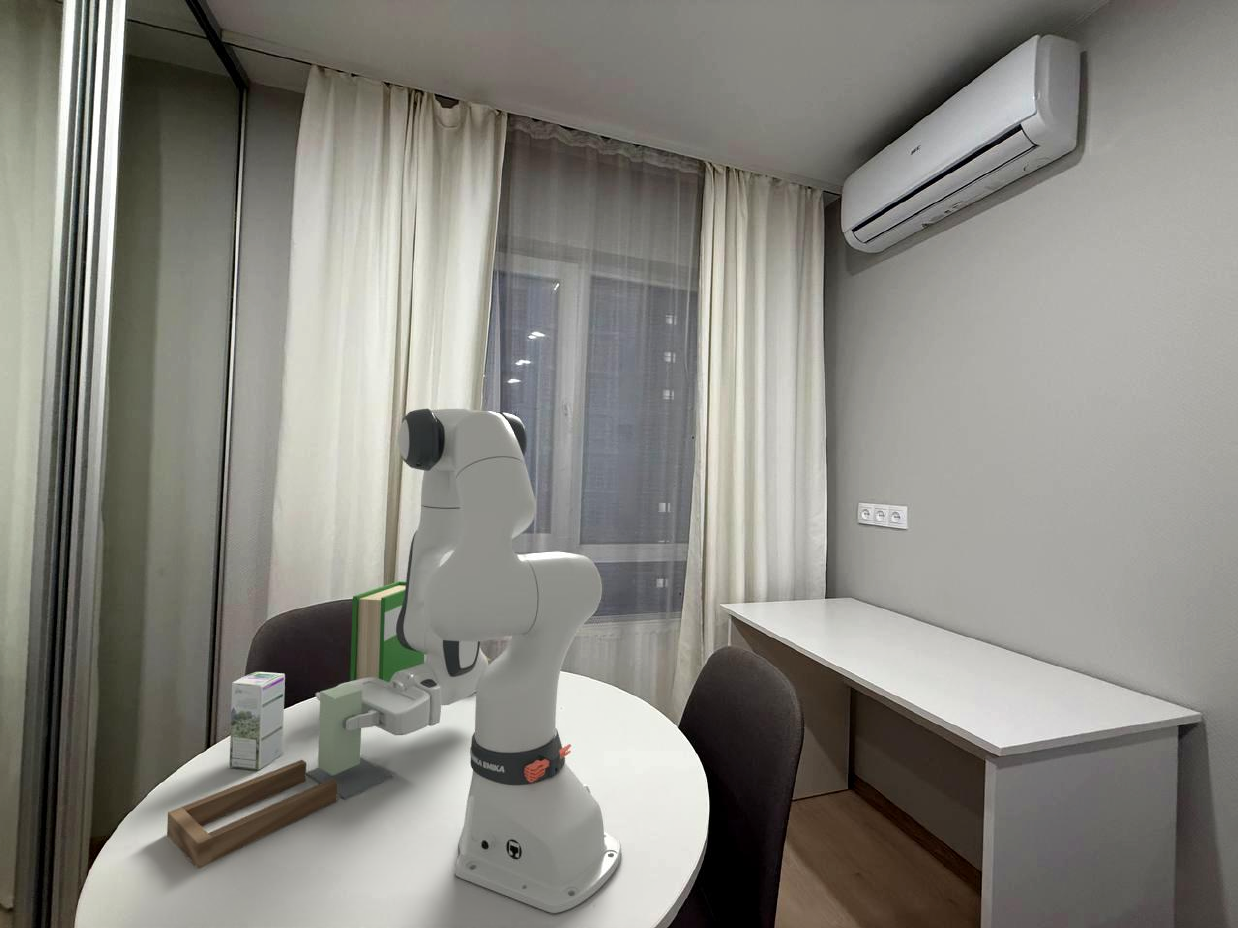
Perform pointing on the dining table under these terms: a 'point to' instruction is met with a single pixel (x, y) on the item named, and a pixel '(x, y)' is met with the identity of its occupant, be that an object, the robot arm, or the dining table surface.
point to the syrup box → (257, 720)
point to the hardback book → (379, 635)
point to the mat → (352, 778)
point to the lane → (252, 827)
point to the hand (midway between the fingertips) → (335, 720)
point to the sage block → (339, 729)
